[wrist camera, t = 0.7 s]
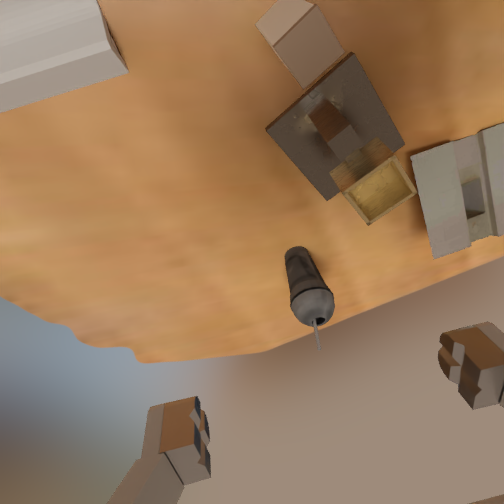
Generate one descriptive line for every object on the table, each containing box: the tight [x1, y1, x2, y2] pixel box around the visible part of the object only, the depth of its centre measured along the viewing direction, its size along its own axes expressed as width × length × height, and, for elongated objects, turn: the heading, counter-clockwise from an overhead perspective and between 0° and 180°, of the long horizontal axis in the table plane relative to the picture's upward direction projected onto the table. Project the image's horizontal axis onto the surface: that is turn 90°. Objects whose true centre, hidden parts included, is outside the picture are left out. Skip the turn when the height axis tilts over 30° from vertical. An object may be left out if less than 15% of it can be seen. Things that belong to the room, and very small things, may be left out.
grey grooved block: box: [410, 123, 504, 260], centre depth 56 cm, size 19×10×17 cm
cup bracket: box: [265, 52, 418, 226], centre depth 45 cm, size 14×16×13 cm
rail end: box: [255, 0, 345, 89], centre depth 35 cm, size 5×5×13 cm
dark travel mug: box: [285, 246, 335, 350], centre depth 57 cm, size 7×7×20 cm
